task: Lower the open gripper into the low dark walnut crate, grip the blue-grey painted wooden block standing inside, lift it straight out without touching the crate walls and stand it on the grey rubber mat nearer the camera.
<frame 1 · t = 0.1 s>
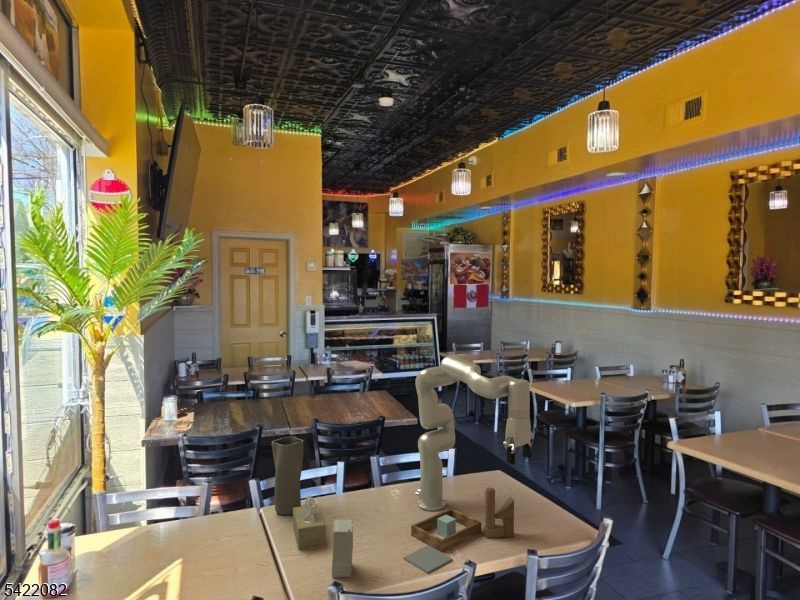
hand: (518, 460, 185), 31 cm above the table, fingers open, 9 cm apart
vase: (288, 511, 214), on the table
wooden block: (498, 535, 193), on the table
tissue box: (308, 537, 193), on the table
skincare box: (342, 571, 169), on the table
crate: (446, 534, 194), on the table
block: (446, 526, 194), in the crate
mat: (427, 559, 176), on the table
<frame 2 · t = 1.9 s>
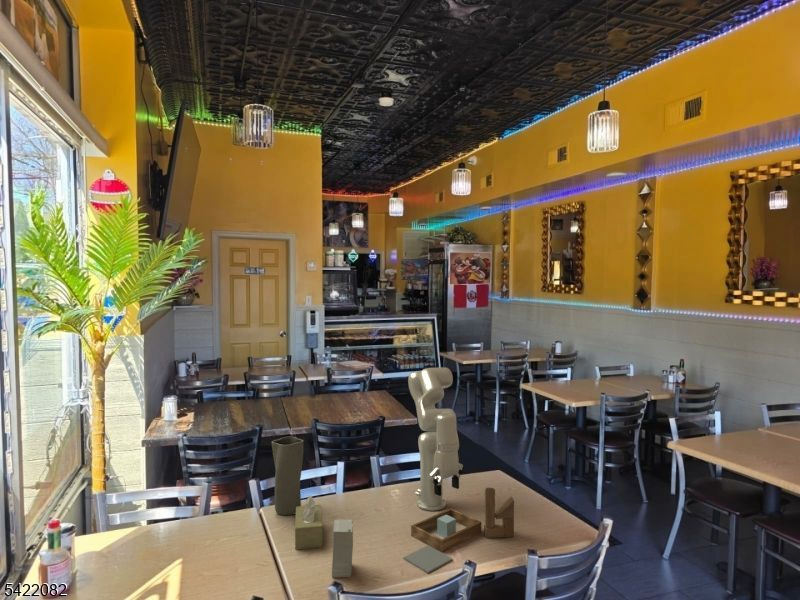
hand: (446, 491, 193), 17 cm above the table, fingers open, 9 cm apart
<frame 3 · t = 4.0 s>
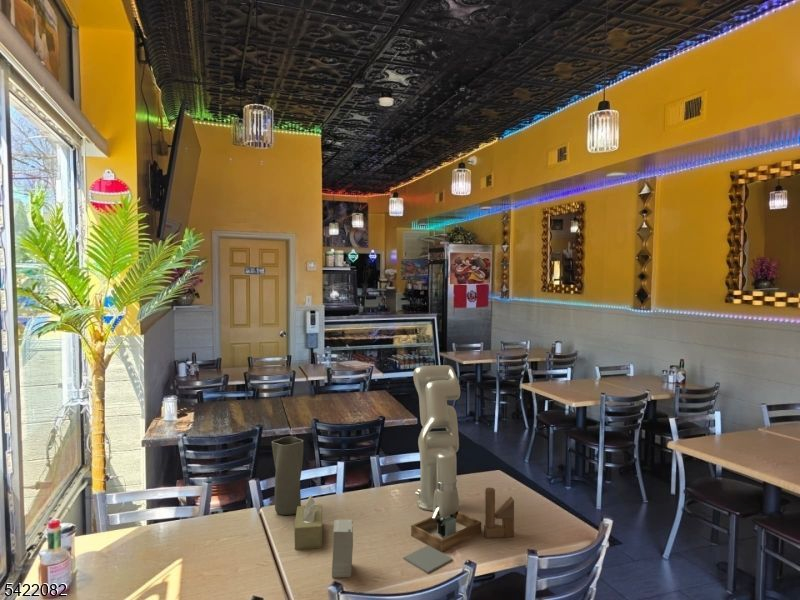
hand: (446, 531, 194), 1 cm above the table, fingers closed on block, 5 cm apart
block: (446, 526, 194), in the crate, touching gripper
everything else where it was.
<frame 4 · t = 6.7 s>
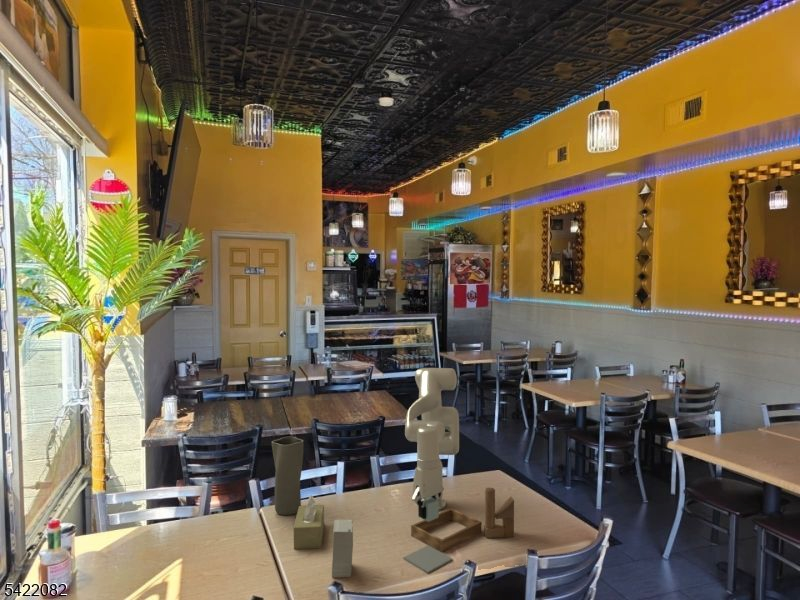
hand: (428, 514, 176), 16 cm above the table, fingers closed on block, 5 cm apart
block: (428, 508, 176), point 18 cm above the table, touching gripper
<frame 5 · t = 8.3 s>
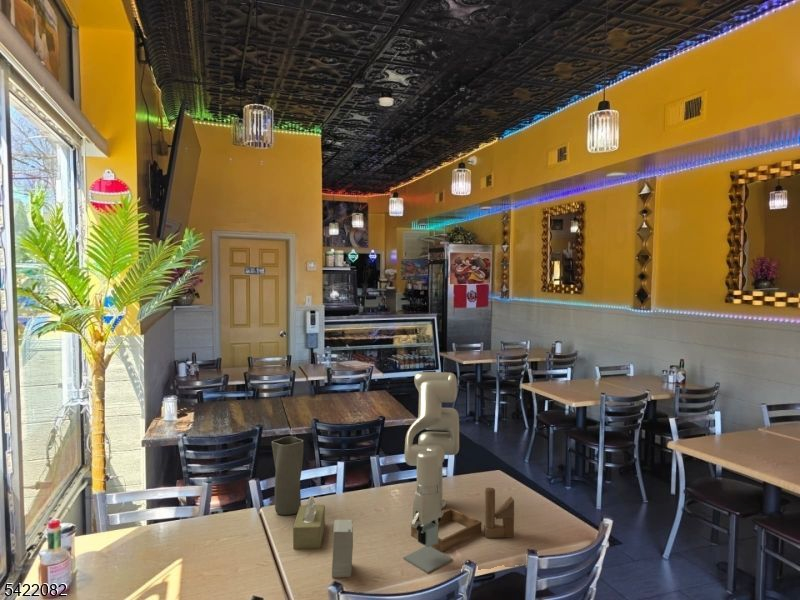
hand: (427, 539, 176), 7 cm above the table, fingers closed on block, 5 cm apart
block: (427, 533, 176), point 9 cm above the table, touching gripper
when the fingers open (3 cm above the table, at t = 9.6 s): block stays where it is, resting on mat.
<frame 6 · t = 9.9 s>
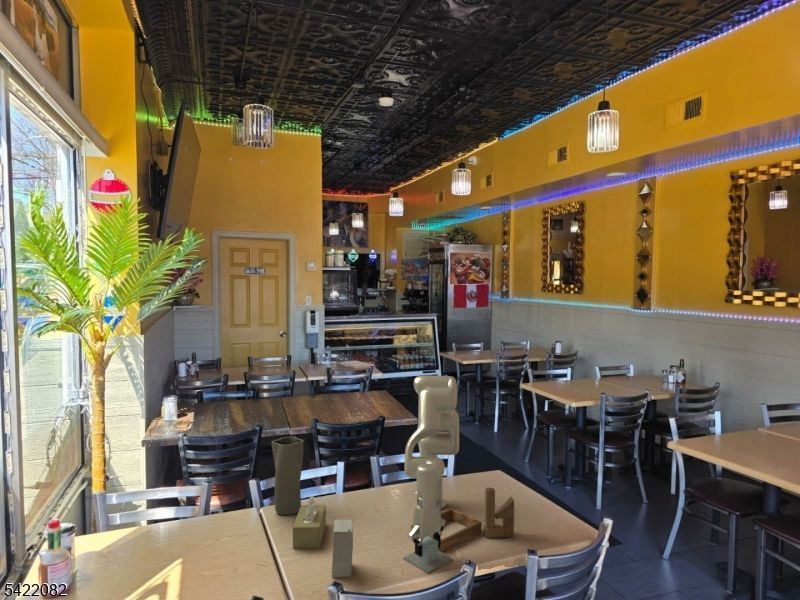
hand: (427, 550, 176), 3 cm above the table, fingers open, 8 cm apart
block: (427, 549, 176), on the mat, point 4 cm above the table
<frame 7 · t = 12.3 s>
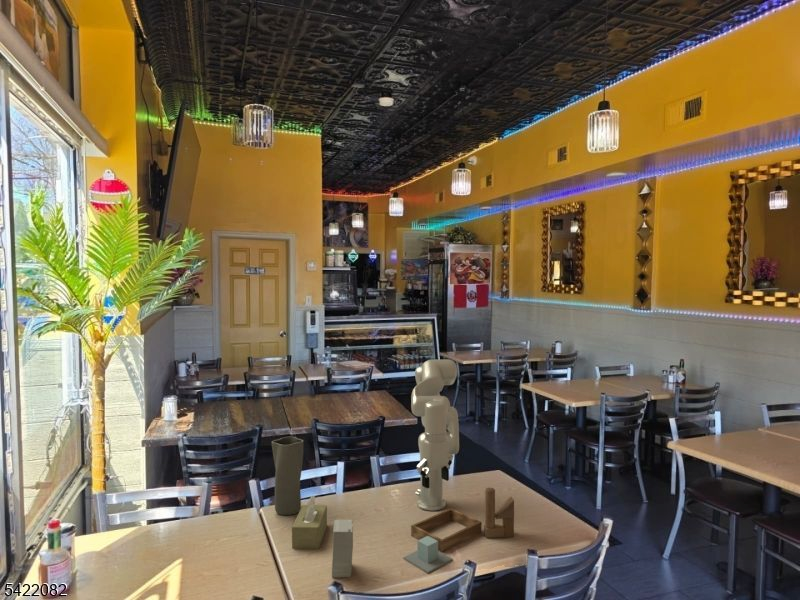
hand: (435, 483, 182), 24 cm above the table, fingers open, 9 cm apart
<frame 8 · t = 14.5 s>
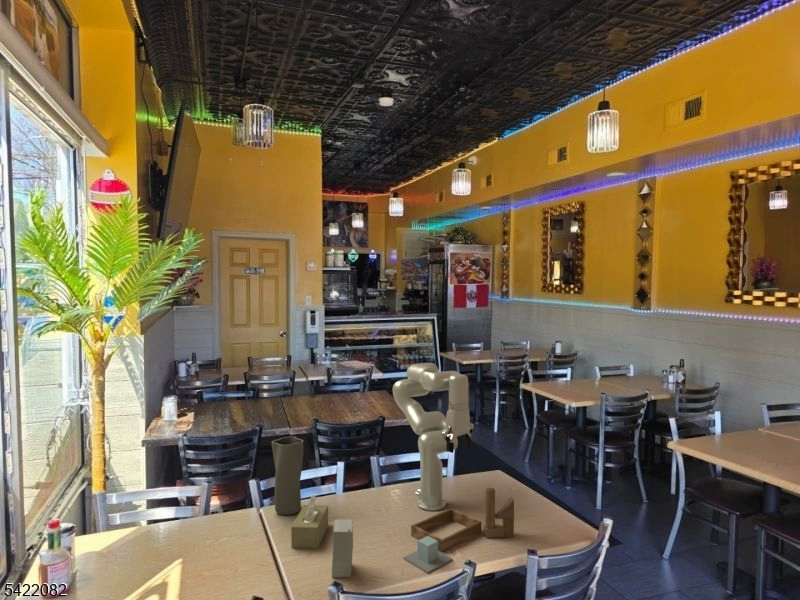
hand: (458, 449, 201), 30 cm above the table, fingers open, 9 cm apart
at the end: block inside the target area on the mat (0.0 cm from its centre), point 3.6 cm above the mat's base; block tilted 0°; the gripper is holding nothing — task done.
